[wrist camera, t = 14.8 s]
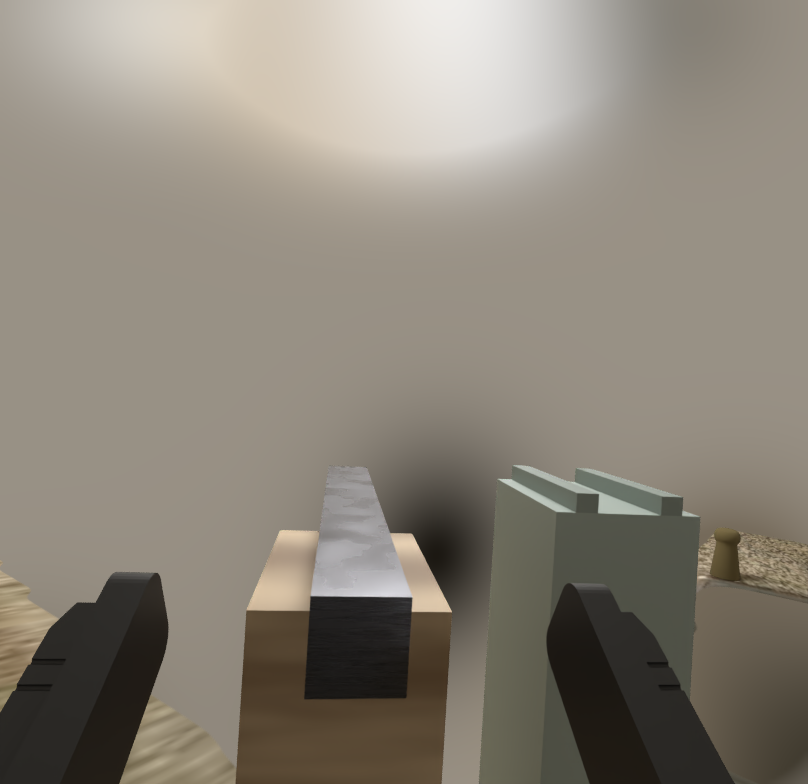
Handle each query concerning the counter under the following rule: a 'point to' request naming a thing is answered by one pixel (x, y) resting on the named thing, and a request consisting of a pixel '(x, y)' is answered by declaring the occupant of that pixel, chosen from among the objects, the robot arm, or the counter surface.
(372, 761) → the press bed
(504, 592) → the frame
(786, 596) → the counter surface
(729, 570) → the cork
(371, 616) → the lever bar
